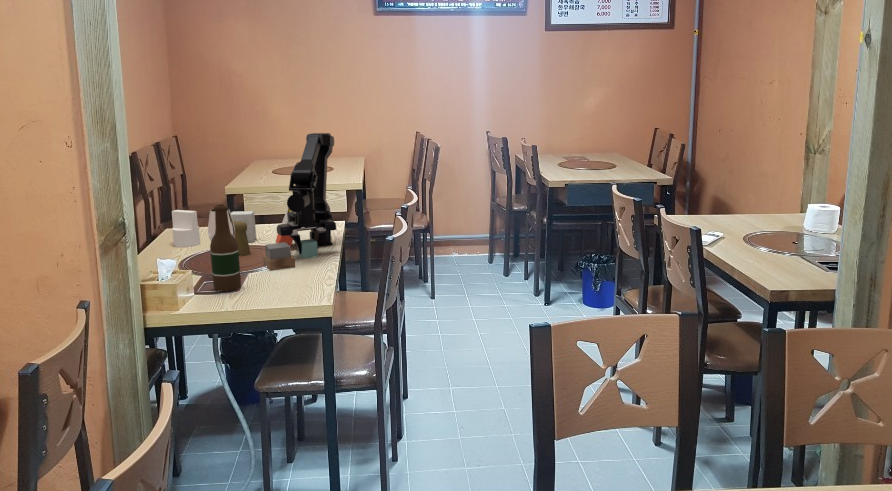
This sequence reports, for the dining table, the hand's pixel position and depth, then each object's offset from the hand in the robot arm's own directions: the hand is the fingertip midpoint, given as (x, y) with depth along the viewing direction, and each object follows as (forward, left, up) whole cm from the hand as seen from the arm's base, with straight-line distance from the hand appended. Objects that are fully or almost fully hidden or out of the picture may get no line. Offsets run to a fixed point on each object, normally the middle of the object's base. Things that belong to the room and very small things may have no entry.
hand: (308, 252), depth 254 cm
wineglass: (+29, +10, -1) cm, 31 cm away
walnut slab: (+12, +8, -1) cm, 14 cm away
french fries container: (+5, -16, 0) cm, 17 cm away
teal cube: (0, 0, -1) cm, 1 cm away
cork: (+19, -14, -1) cm, 24 cm away
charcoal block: (+12, +8, +2) cm, 14 cm away
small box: (+14, -33, -1) cm, 36 cm away
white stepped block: (+33, -38, -1) cm, 50 cm away
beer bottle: (+31, +25, -1) cm, 40 cm away
